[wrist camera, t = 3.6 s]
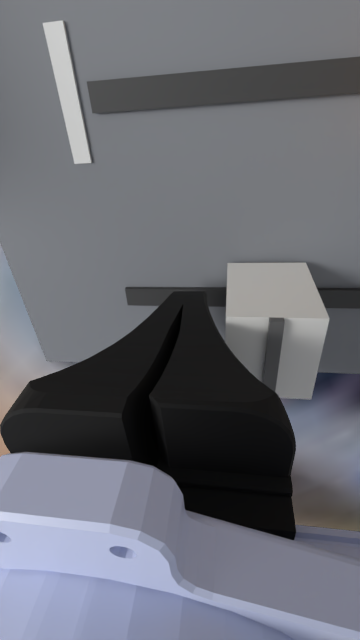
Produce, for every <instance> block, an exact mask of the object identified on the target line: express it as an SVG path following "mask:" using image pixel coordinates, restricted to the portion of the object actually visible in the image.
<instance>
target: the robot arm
mask: <svg viewBox="0 0 360 640" xmlns="http://www.w3.org/2000/svg"><path fill="white" fill-rule="evenodd" d="M0 431H1V435H2V438H3V440H4V443H5V445H6V446H7V448H8V450H9V451H10V453H11V454H6V455H2V456H1V457H0V640H360V532H359V531H350V530H340V529H331V528H321V527H312V526H302V525H295V520H294V513H293V506H292V499H291V496H292V493H293V491H292V482H291V476H290V475H291V470H292V465H293V460H294V456H295V451H296V442H295V436H294V432H293V429H292V426H291V423H290V420H289V418H288V415H287V413H286V411H285V408H284V406H283V404H282V402H281V400H280V398H279V396H278V394H277V393H276V392H274V391H273V390H272V389H270V388H269V387H267V386H266V385H265V384H263V383H262V382H261V381H259V380H258V379H257V378H256V377H255V376H254V375H253V374H252V373H250V372H249V371H248V369H247V368H246V367H245V366H244V365H243V364H242V363H241V362H240V361H239V360H238V359H237V358H236V356H235V355H234V354H233V352H232V351H231V350H230V349H229V347H228V346H227V344H226V343H225V341H224V340H223V338H222V336H221V335H220V333H219V331H218V329H217V327H216V325H215V323H214V321H213V318H212V316H211V313H210V311H209V307H208V304H207V294H206V293H205V292H204V291H173V292H172V293H171V294H170V295H169V296H168V297H167V298H166V299H165V300H164V302H163V303H162V304H161V305H160V306H159V307H158V308H157V309H156V310H155V311H154V312H153V313H152V314H151V315H150V316H149V317H148V318H147V319H145V320H144V321H143V322H142V323H141V324H140V325H138V326H137V327H136V328H135V329H134V330H132V331H131V332H130V333H129V334H127V335H126V336H124V337H123V338H122V339H120V340H119V341H117V342H116V343H114V344H113V345H111V346H109V347H107V348H106V349H104V350H102V351H100V352H99V353H97V354H95V355H93V356H92V357H90V358H88V359H85V360H83V361H81V362H79V363H77V364H75V365H72V366H70V367H68V368H65V369H63V370H61V371H58V372H55V373H52V374H49V375H47V376H44V377H41V378H38V379H35V380H32V381H30V382H29V383H28V384H27V386H26V387H25V389H24V390H23V391H22V393H21V394H20V396H19V397H18V398H17V400H16V401H15V403H14V404H13V405H12V407H11V408H10V410H9V411H8V413H7V414H6V415H5V417H4V419H3V421H2V422H1V424H0Z"/></svg>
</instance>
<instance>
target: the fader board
mask: <svg viewBox="0 0 360 640" xmlns="http://www.w3.org/2000/svg"><path fill="white" fill-rule="evenodd" d="M0 243H1V246H2V248H3V251H4V253H5V256H6V259H7V261H8V264H9V266H10V269H11V271H12V274H13V276H14V279H15V282H16V284H17V287H18V289H19V292H20V294H21V297H22V299H23V302H24V304H25V307H26V310H27V312H28V315H29V317H30V320H31V322H32V325H33V327H34V330H35V332H36V335H37V338H38V340H39V343H40V345H41V348H42V350H43V353H44V355H45V358H46V360H47V361H59V362H81V361H83V360H85V359H88V358H90V357H92V356H93V355H95V354H97V353H99V352H100V351H102V350H104V349H106V348H107V347H109V346H111V345H113V344H114V343H116V342H117V341H119V340H120V339H122V338H123V337H124V336H126V335H127V334H129V333H130V332H131V331H132V330H134V329H135V328H136V327H137V326H138V325H140V324H141V323H142V322H143V321H144V320H145V319H147V318H148V317H149V316H150V315H151V314H152V313H153V312H154V311H155V310H156V309H157V308H158V307H159V306H160V305H161V304H162V303H163V302H164V300H165V299H166V298H167V297H168V296H169V295H170V294H171V293H172V292H173V291H204V292H205V293H206V294H207V304H208V307H209V311H210V313H211V316H212V318H213V321H214V323H215V325H216V327H217V329H218V331H219V333H220V335H221V336H222V338H223V340H224V341H225V333H226V294H227V265H228V263H306V264H307V266H308V269H309V271H310V274H311V276H312V278H313V281H314V283H315V285H316V288H317V290H318V292H319V295H320V297H321V299H322V302H323V304H324V306H325V309H326V311H327V314H328V316H329V318H330V319H329V323H328V328H327V332H326V337H325V341H324V345H323V350H322V354H321V358H320V363H319V367H318V371H317V372H325V373H349V374H360V0H0Z"/></svg>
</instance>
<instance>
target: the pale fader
mask: <svg viewBox="0 0 360 640" xmlns="http://www.w3.org/2000/svg"><path fill="white" fill-rule="evenodd" d="M329 319H330V318H329V316H328V314H327V311H326V309H325V306H324V304H323V302H322V299H321V297H320V295H319V292H318V290H317V288H316V285H315V283H314V281H313V278H312V276H311V274H310V271H309V269H308V266H307V264H306V263H228V265H227V294H226V333H225V343H226V344H227V346H228V347H229V349H230V350H231V351H232V352H233V354H234V355H235V356H236V358H237V359H238V360H239V361H240V362H241V363H242V364H243V365H244V366H245V367H246V368H247V369H248V371H249V372H250V373H252V374H253V375H254V376H255V377H256V378H257V379H258V380H259V381H261V382H262V383H263V384H265V385H266V386H267V387H269V388H270V389H272V390H273V391H274V392H276V393H277V394H278V396H279V398H293V399H311V398H312V393H313V389H314V384H315V380H316V376H317V371H318V367H319V363H320V358H321V354H322V350H323V345H324V341H325V337H326V332H327V328H328V323H329Z"/></svg>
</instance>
